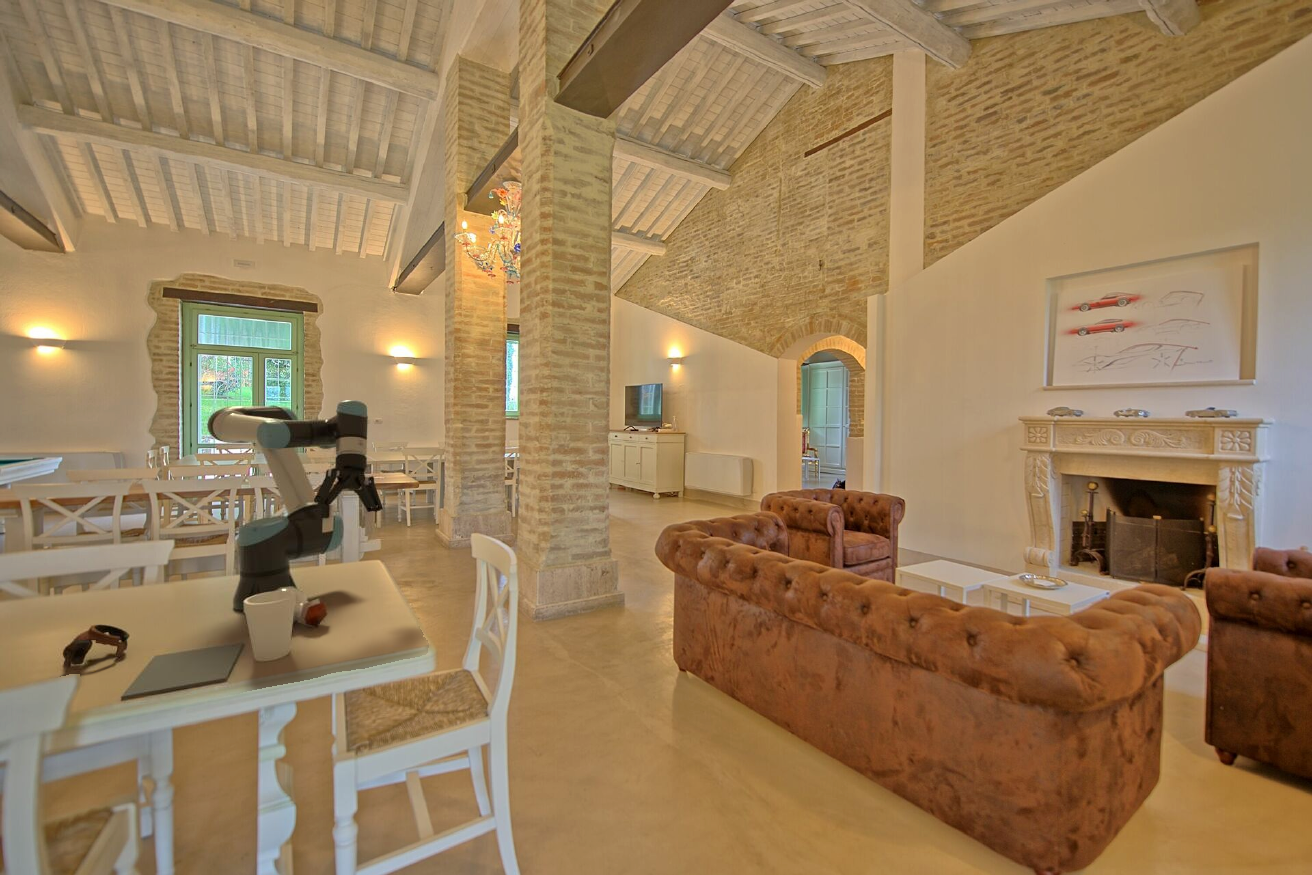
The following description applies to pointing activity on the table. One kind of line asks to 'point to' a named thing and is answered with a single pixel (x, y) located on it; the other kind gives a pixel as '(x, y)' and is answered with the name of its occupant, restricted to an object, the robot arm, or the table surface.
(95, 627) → the brown curved ring piece
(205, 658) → the mat
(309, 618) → the potion bottle
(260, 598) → the foam cup
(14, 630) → the table surface
